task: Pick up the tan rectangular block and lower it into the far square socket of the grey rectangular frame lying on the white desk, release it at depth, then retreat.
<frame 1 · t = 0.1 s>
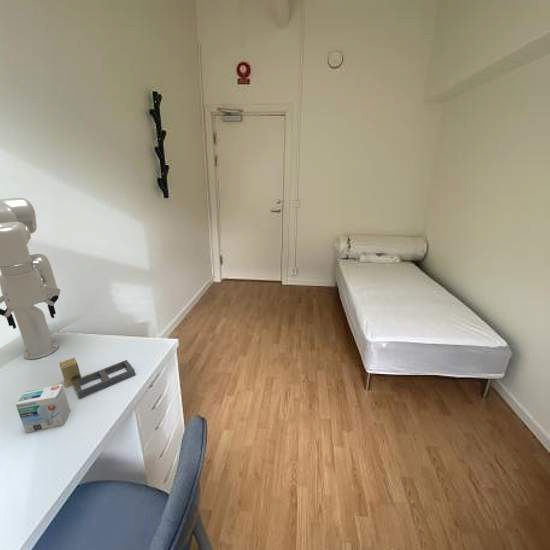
hand: (34, 321, 98), 31 cm above the table, fingers open, 9 cm apart
light bulb box: (49, 422, 101), on the table
tan rectangular block: (73, 381, 120), on the table
grey rectangular frame: (105, 380, 119), on the table
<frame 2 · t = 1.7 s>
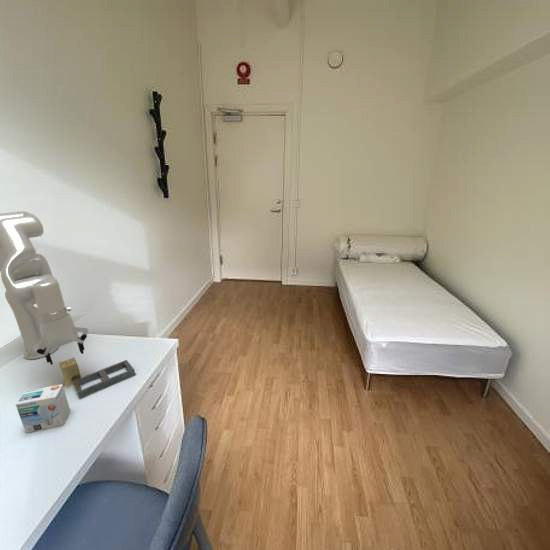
hand: (66, 357, 116), 11 cm above the table, fingers open, 9 cm apart
nothing on the table moved.
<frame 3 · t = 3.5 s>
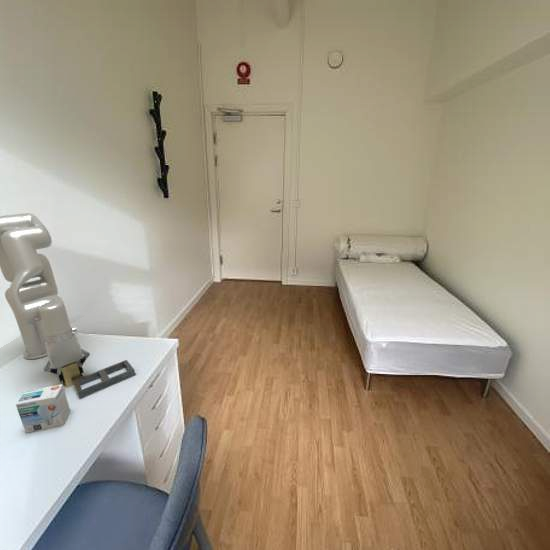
hand: (72, 377, 119), 1 cm above the table, fingers closed on tan rectangular block, 5 cm apart
tan rectangular block: (73, 381, 120), on the table, touching gripper
everything else where it was.
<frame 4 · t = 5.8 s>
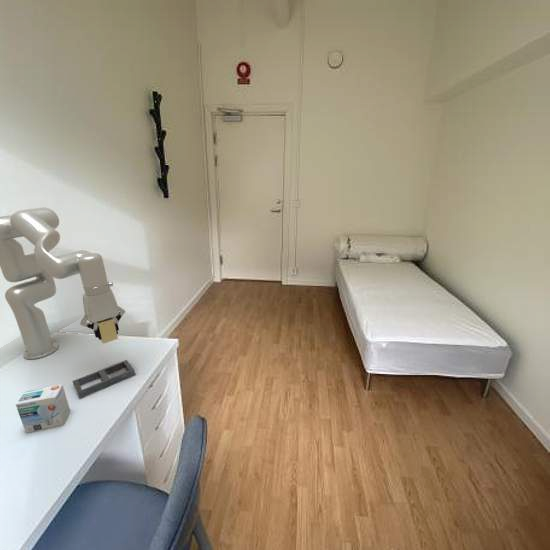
hand: (107, 335, 116), 18 cm above the table, fingers closed on tan rectangular block, 5 cm apart
tan rectangular block: (108, 338, 117), point 16 cm above the table, touching gripper
everything else where it was.
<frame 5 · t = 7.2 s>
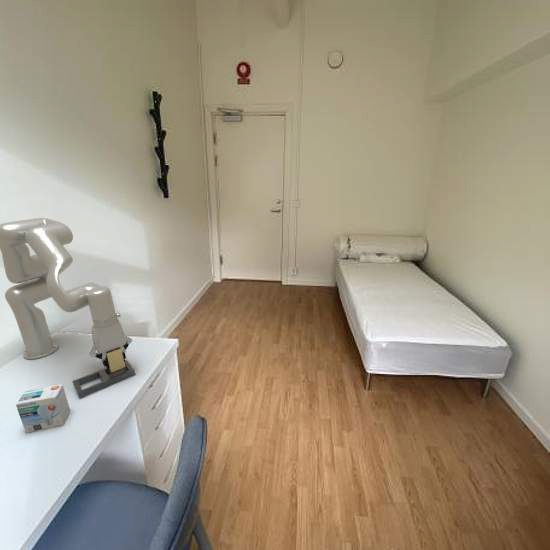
hand: (115, 363, 120), 5 cm above the table, fingers closed on tan rectangular block, 5 cm apart
tan rectangular block: (116, 366, 121), point 4 cm above the table, touching gripper
everything else where it was.
when the fingers open (3 cm above the table, at t = 8.4 s): tan rectangular block drops 2 cm, resting in grey rectangular frame.
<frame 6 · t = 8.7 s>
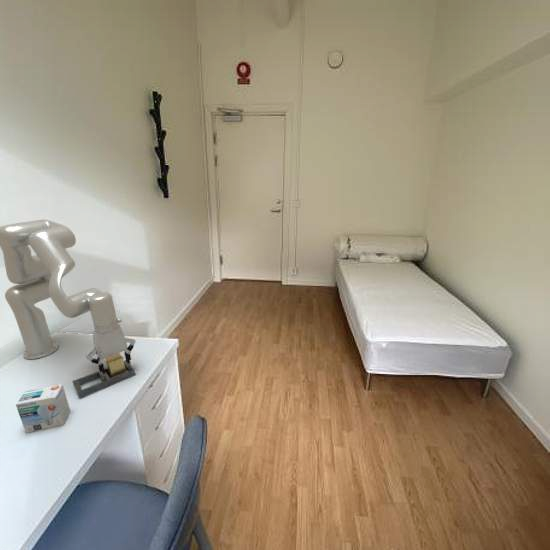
hand: (116, 366, 121), 4 cm above the table, fingers open, 8 cm apart
tan rectangular block: (118, 375, 122), resting in grey rectangular frame
everything else where it was.
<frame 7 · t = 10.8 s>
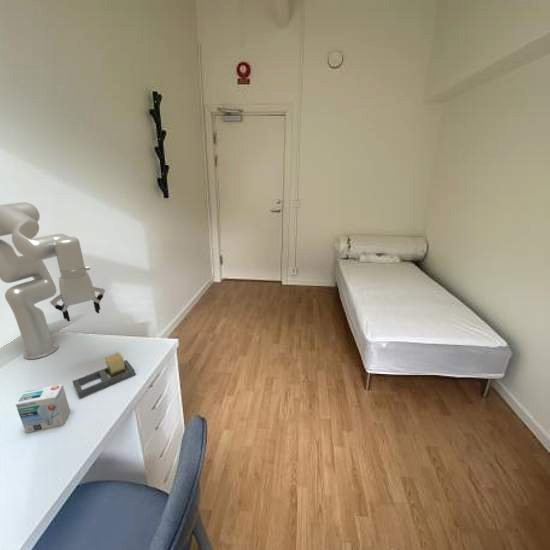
hand: (83, 315, 118), 24 cm above the table, fingers open, 9 cm apart
nothing on the table moved.
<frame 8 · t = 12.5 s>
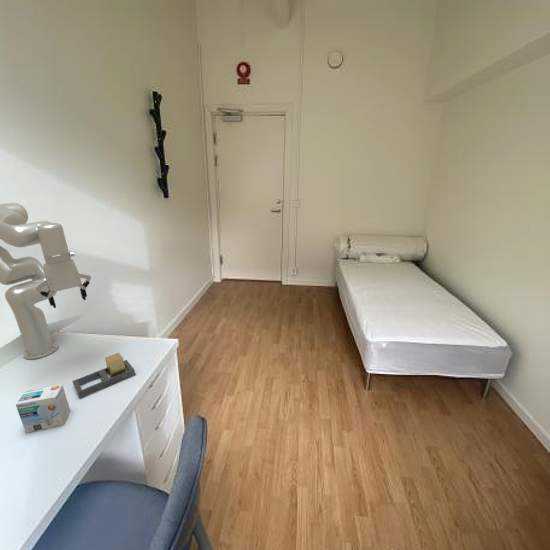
hand: (69, 302, 119), 28 cm above the table, fingers open, 9 cm apart
nothing on the table moved.
at the end: tan rectangular block 0.0 cm from the target spot on the grey rectangular frame, point 0.0 cm above the grey rectangular frame's base; tan rectangular block tilted 0°; the gripper is holding nothing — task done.
